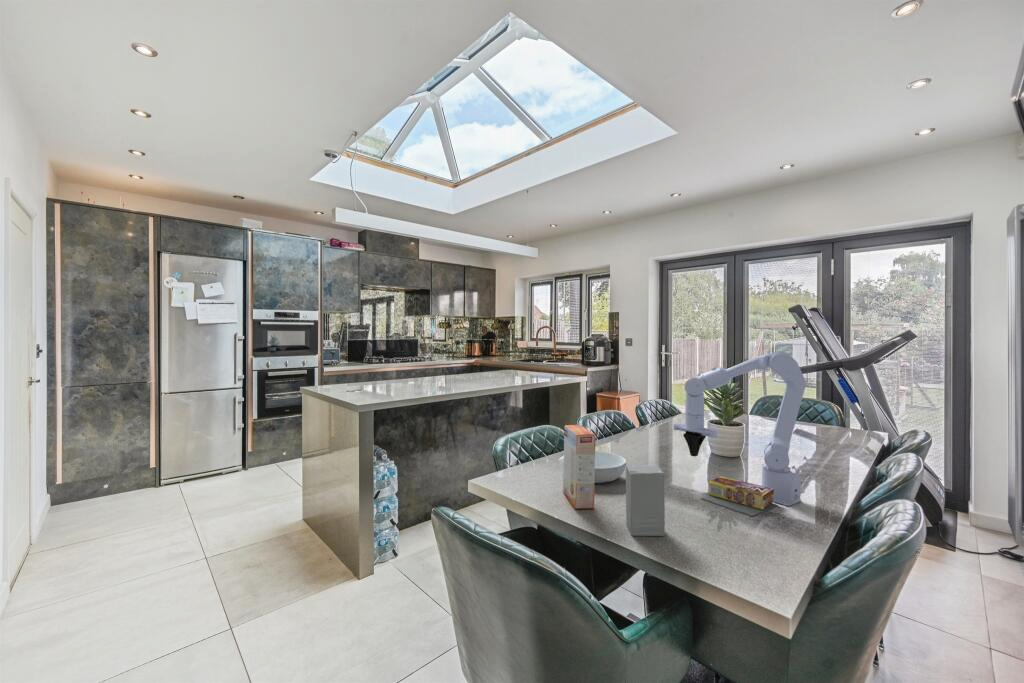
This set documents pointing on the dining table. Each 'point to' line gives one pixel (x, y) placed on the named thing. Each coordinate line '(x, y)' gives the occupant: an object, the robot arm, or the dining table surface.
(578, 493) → the cracker box
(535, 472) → the dining table surface
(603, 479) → the serving bowl
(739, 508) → the mat
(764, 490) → the candy box
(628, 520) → the skincare box
